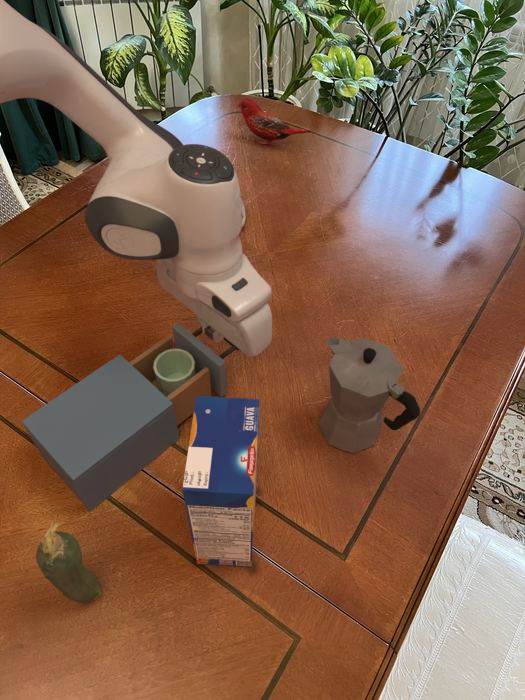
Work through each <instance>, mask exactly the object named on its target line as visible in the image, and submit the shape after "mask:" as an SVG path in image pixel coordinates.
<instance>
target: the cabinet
mask: <svg viewBox="0 0 525 700" xmlns="http://www.w3.org/2000/svg"><path fill="white" fill-rule="evenodd" d="M129 362H130V361H128V360H127V359H126V358H125V357H123V355H122V354H118V355H116V356H115V357H113V358H112V359H110V360H109V361H107V362H106V363H105V364H103V365H102V366H100V367H99V368H97V369H96V370H94V371H92V372H91V373H89V374H88V375H87V376H85V377H84V378H82V379H81V380H80V381H78V382H76V383H75V384H74V385H72V386H71V387H69V388H68V389H67V390H65V391H63V392H62V393H60V394H58V396H56V397H54V398H53V399H52V400H50V401H49V402H47V403H45V404H44V405H42V407H40V408H38V409H37V410H36V411H34V412H32V413H31V414H29V415H28V416H27V417H25V418H24V419H22V420H21V423H22V425H23V427H24V429H25V430H26V432H27V433H28V436H29V437H30V439H31V441H32V442H33V444H34V445H35V447H36V449H37V451H38V452H39V454H40V456H41V458H42V459H43V460H44V461H45V462H46V463H47V464H48V466H49V467H50V468H51V469H52V470H53V471H54V472H55V474H57V476H58V477H59V478H60V479H61V481H62V482H63V483H64V484H65V485H66V486H67V488H69V489H70V491H71V492H72V493H73V494H74V495H75V496H76V498H77V499H78V500H79V501H80V502H81V504H82V505H83V506H84V507H85V508H86V509H87V511H89V512H92V511H93V510H94V509H95V508H97V507H98V506H99V505H100V504H102V503H103V502H104V501H105V500H106V499H107V498H109V497H110V496H112V495H113V494H114V493H115V492H116V491H118V490H119V489H120V488H121V487H122V486H124V485H125V484H126V483H127V482H129V481H130V480H131V479H133V478H134V477H135V476H136V475H138V473H140V472H141V471H142V470H143V469H145V468H146V467H147V466H148V465H150V464H151V463H152V462H153V461H154V460H156V459H157V458H158V457H159V456H161V455H162V454H163V453H164V452H166V451H167V450H168V449H169V448H170V447H172V446H173V445H174V444H175V443H176V442H178V441H179V440H180V433H179V428H178V426H177V422H176V417H175V411H174V406H173V403H172V402H171V401H170V400H169V399H168V398H167V397H166V396H165V395H164V394H162V393H161V392H160V391H159V390H158V389H157V388H156V387H155V386H154V385H153V384H152V383H151V382H149V381H148V380H147V379H146V378H145V377H144V376H143V375H142V374H141V373H140V372H139V371H138V370H136V369H135V368H134V367H133V366H132V365H131V364H130V363H129Z"/></svg>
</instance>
